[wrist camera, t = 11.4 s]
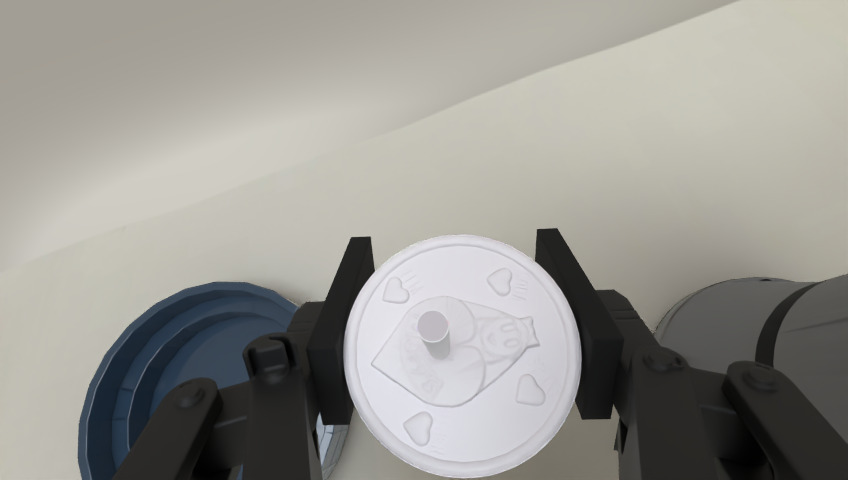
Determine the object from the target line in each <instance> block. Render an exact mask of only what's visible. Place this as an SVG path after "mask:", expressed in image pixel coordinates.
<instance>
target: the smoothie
mask: <svg viewBox="0 0 848 480" xmlns="http://www.w3.org/2000/svg"><path fill="white" fill-rule="evenodd" d="M581 358H582V357H581V344H580V337H579V332H578V328H577V324H576V321H575V318H574V315H573V313H572V310H571V308H570V306H569V304H568V302H567V299H566V298H565V296H564V294H563V293H562V291H561V289H560V288H559V287H558V285H557V284H556V283H555V281H554V280H553V279H552V278H551V276H550V275H549V274H548V273H547V272H546V271H545V270H544V269H543V268H542V267H541V266H540V265H539V264H538V263H536V262H535V261H534V260H533V259H531V258H530V257H529V256H527V255H526V254H524V253H522V252H521V251H519V250H517V249H515V248H514V247H512V246H510V245H507V244H505V243H503V242H500V241H497V240H494V239H491V238H486V237H482V236H476V235H464V234H455V235H444V236H437V237H433V238H429V239H426V240H423V241H420V242H417V243H415V244H413V245H410V246H408V247H406V248H404V249H403V250H401V251H399V252H398V253H396V254H395V255H393V256H392V257H391V258H389V259H388V260H387V261H386V262H384V263H383V264H382V265H381V266H380V267H379V268H378V269H377V270H376V271H375V272H374V273H373V274H372V276H371V277H370V278H369V279H368V281H367V282H366V283H365V285H364V286H363V288H362V289H361V291H360V293H359V295H358V296H357V298H356V300H355V302H354V305H353V307H352V310H351V312H350V315H349V319H348V322H347V326H346V331H345V337H344V351H343V359H344V370H345V376H346V382H347V385H348V389H349V392H350V395H351V398H352V400H353V403H354V405H355V407H356V409H357V411H358V413H359V415H360V417H361V419H362V420H363V422H364V423H365V425H366V426H367V428H368V429H369V430H370V432H371V433H372V434H373V435H374V437H375V438H376V439H377V440H378V441H379V442H380V443H381V444H382V445H383V446H384V447H385V448H387V449H388V450H389V451H390V452H391V453H393V454H394V455H395V456H397V457H398V458H400V459H401V460H403V461H404V462H406V463H408V464H410V465H412V466H414V467H416V468H418V469H421V470H423V471H425V472H429V473H432V474H435V475H439V476H445V477H450V478H479V477H486V476H491V475H494V474H498V473H502V472H504V471H507V470H509V469H512V468H514V467H516V466H518V465H520V464H522V463H524V462H525V461H527V460H528V459H530V458H531V457H533V456H534V455H535V454H537V453H538V452H539V451H540V450H541V449H542V448H544V447H545V446H546V445H547V444H548V443H549V441H550V440H551V439H552V438H553V437H554V436H555V434H556V433H557V432H558V431H559V429H560V428H561V426H562V425H563V423H564V421H565V420H566V418H567V416H568V414H569V412H570V410H571V408H572V406H573V403H574V400H575V397H576V394H577V390H578V386H579V382H580V374H581Z"/></svg>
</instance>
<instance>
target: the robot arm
mask: <svg viewBox="0 0 848 480" xmlns="http://www.w3.org/2000/svg"><path fill="white" fill-rule="evenodd" d="M535 262H536V263H538V264H539V265H540V266H541V267H542V268H543V269H544V270H545V271H546V272H547V273H548V274H549V275H550V276H551V278H552V279H553V280H554V281H555V283H556V284H557V285H558V287H559V288H560V289H561V291H562V293H563V294H564V296H565V298H566V299H567V302H568V304H569V306H570V308H571V310H572V313H573V315H574V318H575V321H576V324H577V328H578V332H579V337H580V344H581V357H582V358H581V374H580V382H579V386H578V390H577V394H576V397H575V402H576V404H577V407H578V410H579V412H580V415H581V418H582V420H585V419H611V413H612V407H613V404H614V406H615V408H616V410H617V412H618V414H619V416H620V418H619V424H618V429H617V434H616V440H615V445H614V450H617V451H618V459H619V480H848V274H845V275H842V276H838V277H835V278H832V279H828V280H825V281H821V282H794V281H789V280H784V279H777V278H762V277H754V278H741V279H733V280H728V281H724V282H720V283H717V284H714V285H711V286H709V287H706V288H704V289H701V290H699V291H697V292H695V293H692V294H691V295H689V296H687V297H686V298H684V299H683V300H681V301H680V302H679V303H677V304H676V305H675V306H674V307H673V308H672V309H671V310H670V311H669V312H668V313H667V314H666V316H665V317H664V318H663V320H662V321H661V323H660V324H659V326H658V327H657V330H656V332H655V334H654V336H653V335H652V333H651V332H650V330H649V329H648V328H647V326H646V325H645V323H644V322H643V320H642V319H640V316H639V315H638V313H637V312H636V311H634V308H633V306H632V305H631V304H630V302H629V301H628V299H627V298H625V297H624V296H623V295H621V294H620V293H618V292H617V291H615V290H595V289H594V288H593V286H592V284H591V283H590V281H589V280H588V278H587V276H586V275H585V273H584V271H583V270H582V268H581V266H580V265H579V263H578V262H577V260H576V258H575V257H574V255H573V253H572V252H571V250H570V249H569V247H568V245H567V244H566V242H565V240H564V239H563V237H562V235H561V234H560V232H559V231H558V229H557V228H552V229H537V238H536V255H535ZM374 272H375V269H374V261H373V253H372V245H371V237H351V239H350V241H349V244H348V246H347V249H346V251H345V254H344V256H343V258H342V261H341V263H340V266H339V268H338V271H337V273H336V276H335V278H334V280H333V283H332V285H331V288H330V290H329V293H328V295H327V297H326V300H325V301H322V302H306V303H305V304H304V305H302V306H301V307H300V308H299V309H298V310H297V311H296V312H295V314H294V316H293V318H292V320H291V324H289V326H288V328H287V330H286V332H285V333H283V332H275V333H269V334H266V335H263V336H260V337H258V338H256V339H255V340H253V341H251V342H250V343H249V344H248V345H247V346H246V347H245V349H244V351H243V353H242V356H243V359H244V363H245V366H246V369H247V372H248V376H249V379H250V380H248V381H246V382H243V383H240V384H236V385H232V386H228V387H225V388H221V389H218V386H217V384H216V382H215V381H214V380H212V379H210V378H203V377H200V378H195V379H190V380H188V381H185V382H183V383H181V384H179V385H177V386H176V387H174V388H173V389H172V390H170V391H169V392H168V393H167V394H166V396H165V397H164V398H163V399H162V401H161V402H160V404H159V405H158V407H157V408H156V410H155V412H154V413H153V415H152V416H151V418H150V420H149V421H148V423H147V424H146V426H145V427H144V429H143V431H142V432H141V434H140V435H139V437H138V438H137V440H136V442H135V443H134V445H133V446H132V448H131V449H130V451H129V453H128V454H127V456H126V457H125V459H124V460H123V462H122V464H121V465H120V467H119V468H118V470H117V471H116V473H115V475H114V476H113V478H112V479H111V480H236V479H237V477H238V474H239V471H240V468H241V465H242V464H243V472H242V480H323V477H322V468H321V458H320V449H319V439H318V434H317V429H316V423H317V419H318V416H319V413H320V415H321V419H322V424H323V425H350V421H351V416H352V412H353V407H354V403H353V400H352V398H351V395H350V392H349V389H348V385H347V382H346V376H345V370H344V359H343V351H344V337H345V331H346V326H347V322H348V319H349V315H350V312H351V310H352V307H353V305H354V302H355V300H356V298H357V296H358V295H359V293H360V291H361V289H362V288H363V286H364V285H365V283H366V282H367V281H368V279H369V278H370V277H371V276H372V274H373V273H374Z"/></svg>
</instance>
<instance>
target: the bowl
mask: <svg viewBox="0 0 848 480" xmlns="http://www.w3.org/2000/svg"><path fill="white" fill-rule="evenodd" d="M300 307H301V306H299V305H298V304H296V303H295V302H293V301H291V300H289V299H288V298H286V297H284V296H282V295H281V294H279V293H277V292H275V291H273V290H270V289H266V288H263V287H260V286H257V285H253V284H250V283H245V282H212V283H208V284H204V285H200V286H195V287H191V288H187V289H184V290H182V291H180V292H178V293H176V294H174V295H172V296H170V297H168V298H166V299H164V300H162V301H160V302H158V303H156V304H155V305H153V306H152V307H151V308H150V309H148V310H147V311H146V312H145V313H143V314H142V315H141V316H140V317H139V318H137V319H136V320H135V321H134V322H132V323H131V324H130V325H129V326H128V327H127V328H126V329H125V331H124V332H123V333H122V334H121V335H120V337H119V338H118V339H117V340H116V342H115V343H114V344H113V345H112V347H111V348H110V349H109V350H108V352H107V353H106V354H105V356H104V358H103V360H102V362H101V364H100V365H99V367H98V369H97V371H96V373H95V375H94V377H93V379H92V381H91V383H90V385H89V388H88V391H87V395H86V398H85V402H84V406H83V410H82V413H81V417H80V421H79V422H80V423H79V435H78V464H79V468H80V473H81V477H82V480H111V479H112V478H113V476H114V475H115V473H116V471H117V470H118V468H119V467H120V465H121V464H122V462H123V460H124V459H125V457H126V456H127V454H128V453H129V451H130V449H131V448H132V446H133V445H134V443H135V442H136V440H137V438H138V437H139V435H140V434H141V432H142V431H143V429H144V427H145V426H146V424H147V423H148V421H149V420H150V418H151V416H152V415H153V413H154V412H155V410H156V408H157V407H158V405H159V404H160V402H161V401H162V399H163V398H164V397H165V396H166V394H167V393H168V392H169V391H170V390H172V389H173V388H174V387H176V386H177V385H179V384H181V383H183V382H185V381H188V380H190V379H195V378H200V377H203V378H210V379H212V380H214V381H215V382H216V384H217V386H218V389H221V388H225V387H228V386H232V385H236V384H240V383H243V382H246V381H248V380H250V379H249V376H248V372H247V369H246V366H245V363H244V359H243V356H242V353H243V351H244V349H245V347H246V346H247V345H248V344H249V343H250V342H251V341H253V340H255V339H256V338H258V337H260V336H263V335H266V334H269V333H275V332H283V333H285V332H286V330H287V328H288V326H289V324H291V320H292V318H293V316H294V314H295V312H296V311H297V310H298V309H299V308H300ZM348 428H349V425H323V424H322V419H321V415H320V413H319V416H318V419H317V423H316V429H317V434H318V439H319V449H320V458H321V468H322V477H323V480H326V479H327V478H328V476H329V475H330V473H331V471H332V470H333V468H334V466H335V465H336V463H337V461H338V459H339V456H340V453H341V450H342V447H343V444H344V441H345V438H346V434H347V431H348ZM242 472H243V464H242V465H241V468H240V471H239V474H238V477H237V479H236V480H242Z"/></svg>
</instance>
